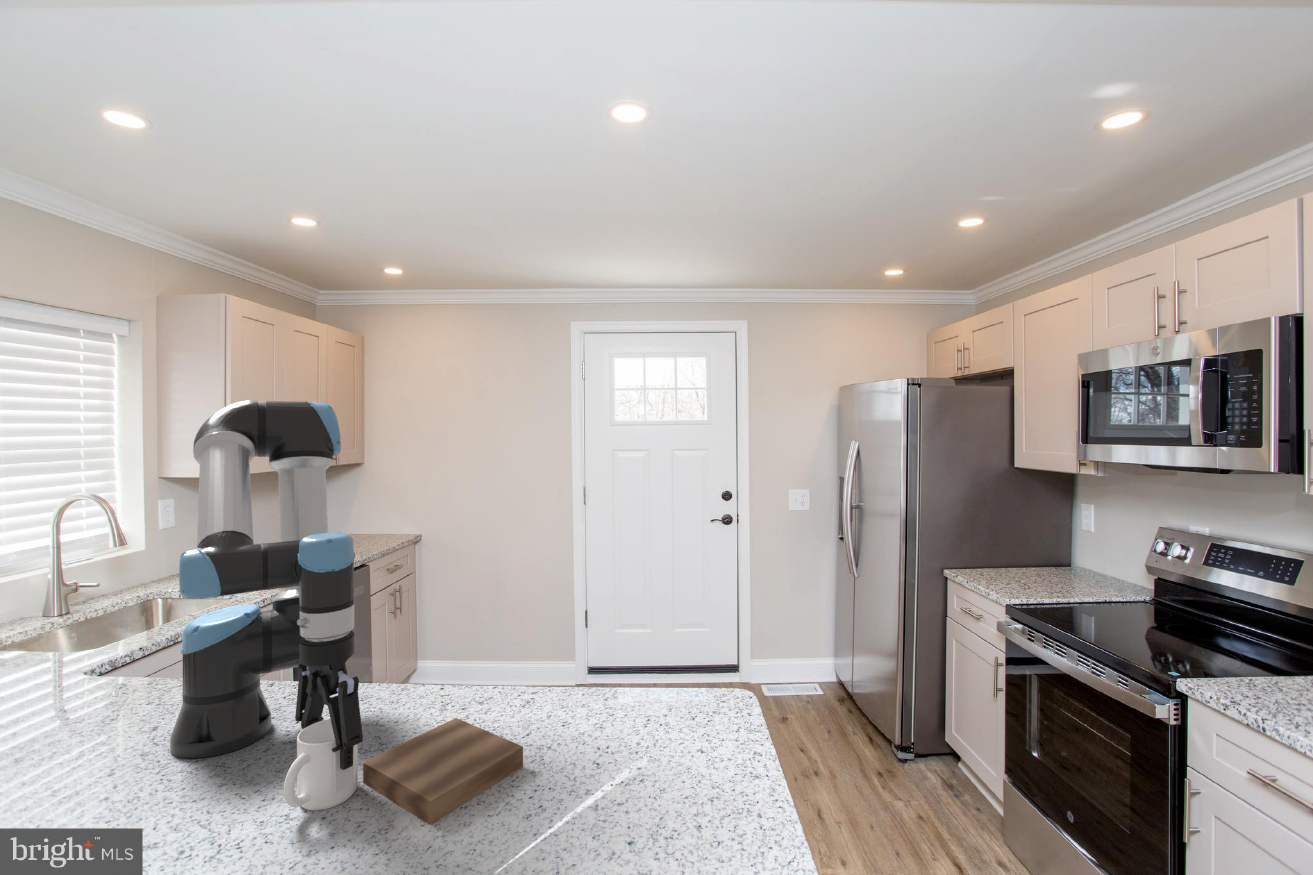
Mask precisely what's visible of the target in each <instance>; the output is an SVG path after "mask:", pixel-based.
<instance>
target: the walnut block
mask: <svg viewBox="0 0 1313 875" xmlns="http://www.w3.org/2000/svg"><path fill="white" fill-rule="evenodd" d="M523 767H524V746H523V745H520V744H518V743H517V742H513V741H511V740H509V739H507V738H504V737H502V736H499V735H498V734H494V733H493V732H490V731H488V730H486V729H484V728H481V727H478V726H477V725H474V724H471V723H469V722H467V721H464V720H462V719H460V718H457V717H455V718H453V719H451V720H449V721H447V722H445V723H442V724H440V725H438V726H436V727H434V728H432V729H430V730H428V731H426V732H424V733H422V734H419V735H417V736H415V737H413V738H411V739H408V740H407V741H405V742H403V743H401V744H398V745H397V746H394V747H392V748H390V749H388V750H385V751H384V752H382V753H379V754H377V755H376V756H374V757H370V758H369V759H367V760H365V761H363V762H362V783H363V784H364V785H365V786H367V787H369V788H370V789H372V790H374V791H375V792H377V793H378V794H380V795H381V796H383V797H385V798H386V799H388V800H390V801H391V802H393V803H395V804H396V805H398V806H399V807H401V808H403V809H404V810H405V811H407V812H409V813H410V814H412V815H413V816H415V817H417V818H418V819H419V820H421V819H422V820H421V821H423V822H424V823H426V822H427V823H426V824H428V825H429V824H430V826H432V825H433V824H435V823H436V822H438V821H440V820H442V819H443V818H444V817H446V816H447V815H449V814H451V813H452V812H454V811H456V810H457V809H459V808H460V807H462V806H464V805H465V804H466V803H468V802H469V801H471V800H473V799H475V798H476V797H477V796H479V795H481V794H483V793H484V792H485V791H487V790H488V789H490V788H492V787H494V786H495V785H496V784H498V783H500V782H501V781H503V780H504V779H506V778H508V777H509V776H511V775H512V774H514V773H515V772H517V771H519V770H520V769H523ZM431 824H432V825H431Z"/></svg>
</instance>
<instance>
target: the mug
mask: <svg viewBox="0 0 1313 875" xmlns="http://www.w3.org/2000/svg"><path fill="white" fill-rule="evenodd" d="M358 745H359V744H357V745H354V746H353V784H352V785H350V786H348V787H346V788H344V789H342V790H340V791H338V792H334V791H333V751H332V748H334V747H336V742H335V737H334V733H333V728H332V724H331V719H330V718H326V719H323V721H319V722H316V723H314V724H312V725H309V726H308V727H306V728H304V729H301V731H300V732H299V733H298V734H297V736H296V759H295V760H294V761H293V763H291V764H290V766H289V769H288V771H287V773H286V776H285V778H284V779H285V780H284V784H283V797H284V801H285V803H286V804H287V806H290V807H292V808H296V807H297V808H299V807H302V808H303V809H305V810H308V811H323V810H327V809H330V808H334V807H336V806H339V805H340V804H343V803H344V802H346V801H348V799H350V798H351V797H352V796H353V795H354V794H355V792H356V790H357V787H358V781H359V779H358V778H359V774H358V772H359V771H358V770H359V768H358V764H359V763H358V761H359V759H358V756H359V755H358V751H359V750H358ZM296 781H297V782H296ZM296 783H297V788H296V791H297V792H295V786H296ZM296 793H297V795H296Z"/></svg>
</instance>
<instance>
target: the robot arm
mask: <svg viewBox="0 0 1313 875" xmlns="http://www.w3.org/2000/svg"><path fill="white" fill-rule="evenodd" d="M340 430H341V429H340V426H339V421H338V417H337V415H336V412H335V410H334V408H333V407H332V406H331V405H330V404H328V403H324V402H313V401H309V400H307V401H306V400H305V401H283V400H282V401H277V400H250V399H249V400H242V401H237V402H234V403H231V404H229V405H227V406H224V407H223V408H221V409H219V410H217V411H216V412H215V413H213V414H212V415H211V416H210V417H208V418H207V419H206V420H205V421H204V422H203V424H202V425H201V426H200V428H199V429H198V430H197V432H196V434H195V438H194V441H193V447H192V448H193V450H192V452H193V457H194V460H195V461H196V462H197V463H198V464H199V473H198V474H199V476H198V502H197V503H198V504H197V505H198V507H197V534H196V535H197V536H196V537H197V538H196V548H194V549H192V550H191V549H190V550H186V551H184V552H181V554H180V557H179V569H178V570H179V574H178V575H179V578H178V579H179V580H178V581H179V594H180V595H181V597H182V598H184V599H187V600H199V599H201V600H202V599H211V598H214V599H215V598H219V597H225V596H231V595H239V594H246V593H253V592H259V591H265V590H267V591H271V590H277V589H278V590H279V589H280V592H278V594H276V596H275V597H274V598H273V599H272V609H268V610H263V611H261V608H260V607H259V605H258V604H255V603H247V604H236V605H231V606H227V607H224V608H220V609H217V610H213V611H210V612H207V613H205V614H202V615H200V616H198V617H196V618H194V619H192V620H191V621H189V623H187V625H185V627H184V629H183V632H182V641H181V644H182V645H181V648H180V654H182V681H181V682H182V684H181V685H182V704H181V707H180V711H179V714H178V716H177V719H176V721H175V724H174V727H173V728H172V729H173V730H172V732H171V735H170V738H169V741H170V742H169V746H170V747H169V749H170V750H169V751H170V754H171V755H172V756H174V757H175V758H180V759H188V760H192V759H193V760H195V759H204V758H210V757H216V756H220V755H224V754H228V753H230V752H234V751H236V750H240V749H242V748H245V747H246V746H249V745H251V744H254V743H255V742H257V741H258V740H260V739H261V738H263V737H264V736H266V735H267V734H268V733H269V731H270V730H271V728H272V712H271V710H270V707H269V705H268V702H267V700H266V697H265V696H264V693H263V691H262V688H261V675H265V674H269V673H275V672H279V671H283V670H289V669H294V668H297V670H298V681H297V682H298V683H297V684H298V685H297V692H296V693H297V695H296V696H297V697H296V706H295V717H294V718H295V721H296V722H297V723H299V722H300V727H301V730H303V729H304V728H306V727H308V726H309V725H312V724H314V723H316V722H319V721H323V720H325V719H324V717H323V716H322V715H323V711H324V707H325V706H327V709H328V714H329V719H331V724H332V728H333V733H334V737H335V742H336V747H334V748H332V751H333V791H334V792H338V791H340V790H342V789H344V788H346V787H348V786H350V785H352V784H353V746H354V745H357V744H358V745H359V744H361V743H363V741H364V740H363V739H364V736H363V728H362V718H361V717H362V716H361V708H360V700H359V698H360V697H359V686H360V685H359V684H360V683H359V682H360V680H359V677H358V676H357V675H356V676H353V677H350V676H348V670H347V665H346V663H347V661H348V660H349V659H350V658H351V657H353V656H354V654H355V631H353V629H354V628H355V599H354V596H355V594H354V592H355V591H354V587H355V585H354V584H355V583H354V582H355V580H354V578H355V558H356V553H355V550H354V539H353V536H352V535H350V534H349V533H346V532H345V533H343V532H329V521H328V520H329V518H328V499H327V498H328V497H327V475H326V474H327V473H326V471H327V470H328V469H329V467H331V466H332V465H333V464H334V457H336V456H339V454H340V453H341V450H342V443H341V438H342V437H341V431H340ZM254 457H256V458H268V459H269V460H268V461H269V462H268V465H269V467H270V468H272V469H273V470H274V471H275V472H277V475H278V477H277V478H278V509H279V510H278V511H279V512H278V513H279V514H278V515H279V541H277V542H275V541H274V542H266V543H263V542H262V543H255V544H254V542H255V541H254V526H253V525H254V524H253V507H252V506H253V504H252V491H251V490H252V487H251V486H252V484H251V468H250V467H251V466H250V463H251V462H252V461H253V460H254ZM334 695H335V696H334ZM331 696H332V697H331Z"/></svg>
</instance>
